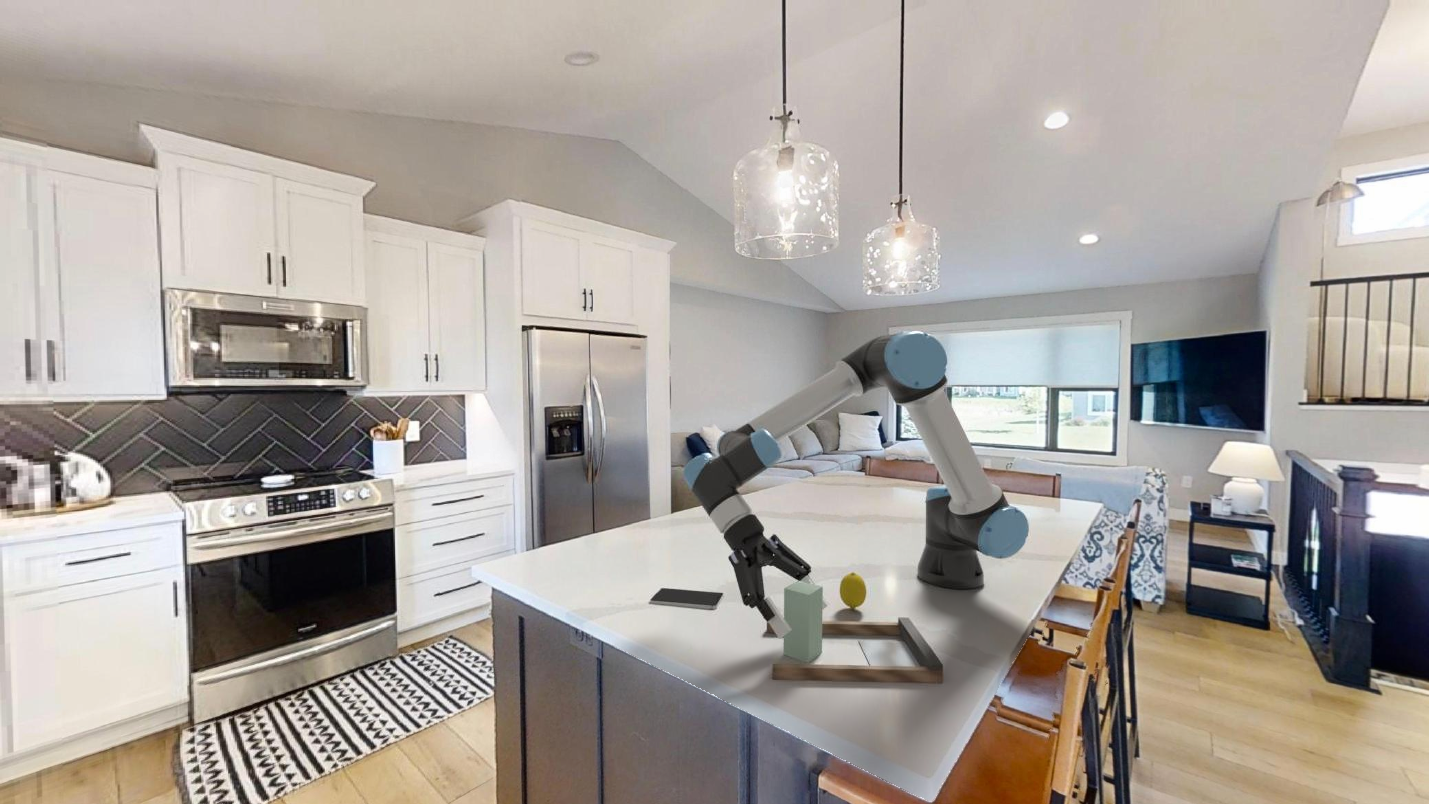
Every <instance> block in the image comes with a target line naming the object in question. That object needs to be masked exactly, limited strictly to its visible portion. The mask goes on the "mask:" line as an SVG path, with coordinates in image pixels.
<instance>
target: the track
mask: <svg viewBox="0 0 1429 804" xmlns="http://www.w3.org/2000/svg"><path fill="white" fill-rule="evenodd" d="M766 633H767V634H776V633H775V632H774V630H773V629H772V627H771V626H770V624H769V623H768V621H766ZM822 635H857V636H858V635H859V636H860V635H863V636H865V635H866V636H899V637H900V638H901V639H902V640H865V639H864V640H862V639H861V640H858V643H859V645H860V647H861V650H862V651H863V653H864V656H865V658H866V660H867V662H868V665H866V664H865V665H864V664H863V665H861V664H860V665H858V664H857V665H854V664H850V665H849V664H819V663H817V664H815V663H814V664H813V663H812V664H810V663H806V664H805V663H771V664H772V665H771V666H772V668H771V669H772V672H771V673H772V674H771V675H772V680H792V681H793V680H794V681H795V680H797V681H801V680H802V681H837V682H838V681H841V682H843V681H844V682H849V681H850V682H889V683H892V682H893V683H928V684H929V683H933V684H934V683H937V684H942V683H944V676H943V674H944V664H943V663H942V661H941V660H940V659H939V657H938V656H937V654H936V653H935V652H934V650H933V649H932V648H931V647H930V646H931V645H929V643H928V642H927V641H926V640H925V638H924V637H923V635H922V634H921V632H920V631H919V630H918V628H917V627H916V626H915V624H914V623H913V622H912V620H911V618H910V617H903V616H902V617H897V622H894V621H893V622H890V621H884V622H883V621H844V620H843V621H842V620H841V621H834V620H830V621H829V620H826V621H825V620H822Z"/></svg>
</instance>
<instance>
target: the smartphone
mask: <svg viewBox="0 0 1429 804" xmlns="http://www.w3.org/2000/svg"><path fill="white" fill-rule="evenodd" d="M723 599H724V592H719V591H718V592H717V591H708V590H707V591H706V590H695V589H692V590H691V589H680V588H667V587H666V588H665V587H661V588H659V590H658V591H657V592H656V593H655V594H654V595H653V596H652V597H651V599H649V600H650V601H649V603H651V604H654V605H656V604H657V605H665V606H677V607H687V608H695V609H705V610H706V609H708V610H717V609H718V607H719V605H720V604H721V602H722V601H723Z"/></svg>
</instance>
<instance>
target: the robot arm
mask: <svg viewBox="0 0 1429 804" xmlns="http://www.w3.org/2000/svg"><path fill="white" fill-rule="evenodd" d="M944 348H945V347H944V346H943V344H942V343H941V342H940V341H939V340H938V339H937V338H935V336H932V335H931V334H928V333H926V332H922V331H912V330H911V331H910V330H909V331H902V332H898V333H894V334H888V335H880V336H877V337H874V338H872V339H871V340H869V341H866V342H865V343H864V344H862V345H861V346H859V347H858V348H856V349H854V350H853V351H851V352H850V353H848V354H847V355H846V356H844V357H843V358H841V359H840V360H838V361H837V362H836V363H835V368H834V369H832V370H830V371H828V372H827V373H825V374H824V375H822V376H820V377H819V378H817V379H815V380H814V381H812V382H810V384H808V385H806V386H805V387H803V388H802V389H800V390H798V391H797V392H794V393H793V394H791V395H790V396H788V397H787V398H785V399H784V400H782V401H780V402H779V403H777V404H775V405H774V406H772V407H771V408H769V409H767V410H766V411H764V412H763V413H761V414H759V415H758V416H757V417H755V418H753V419H752V420H750V421H748V422H747V423H746V424H743V425H742V426H740V427H738V428H737V429H736V430H731V431H727V432H725V433H723V434H722V435H721V436H720V437H719V439H718V440H717V443H716V451H717V455H718V456H717V457H715V456H714V455H713V454H712V453H710V452H704V453H701V454H700V455H696V456H695V457H694V458H693V457H692V459H690V460H689V462H688V463H687V464H686V465H685V466H684V468H683V472H682V477H683V479H684V480H685V482H686V484H687V485H688V487H689V488H690V491H691V492H692V493H693V495H694V497H695V498H696V499H697V501H698V502H699V505H701V507H702V508H703V509H704V511H705V512H706V514H707V516H708V517H709V518H710V519H711V521H712V523H713V524H714V526H715V527H716V529H718V531H719V533H720V534H723V539H724V541H725V542H726V543H727V545H728V547H729V548H730V549H731V551H733V552H732V553H731V554H729V556H728V557H727V558H728V560H729V562H730V564H731V566H732V568H733V570H734V571H733V572H734V574H735V575H734V576H735V579H736V582H737V587H738V588H739V593H740V595H741V596H740V597H741V601H742V603H743V605H744V606H745V607H750V608H751V609H754V608H757V610H758V611H759V613H760V614H761V615H762V618H763V619H764V620H765V621H766V622H767V621H768V623H769V624H770V626H771V627H772V629H773V630H774V632H775V633H774V634H776V636H777V638H778V639H779V640H781V639H783V638H784V636H785V635H786V634H787V633H789V632H790V631H791V630H792V629H791V628H790V626H789V625H788V623H787V622H786V621H785V619H784V615H782V613H781V611H780V610H779V609H778V607H777V606H776V605H775V603H774V601H772V599H771V596H767V597H766V595H765V587H764V577H763V576H764V575H763V568H764V567H767V566H769V567H775V568H776V569H778V570H780V571H781V572H782V573H785V574H786V575H788V576H790V577H791V578H793V579H794V580H797V581H802V582H806V583H810V584H814V585H816V584H815V583H814V581H813V579H812V578H811V577H810V573H811V572H812V567H811V565H810V563H808V562H807V561H806V560H804V559H803V558H802V557H801V556H799V555H798V554H797V553H796V552H794V550H792V549H791V548H789V547H788V546H787V545H786V544H785V543H784V542H783V541H782V540H781V539H780V538H779V537H778V536H777V534H775V533H773V534H772V535H771V536H770V537H769V538H767V537H766V536H764V532H765V527H764V525H763V524H762V522H761V521H760V519H759V518H758V517H757V516H756V514H753V510H752V508H751V507H750V506H749V504H748V503H747V502H746V499H744V497H743V496H742V495H741V493H740V492H739V491H738V489H739V488H741V487H743V486H744V485H745V484H747V483H748V482H750V481H752V480H753V479H754V478H756V477H757V476H759V475H760V474H761V473H763V472H765V471H766V470H767V469H771V467H772V466H774V465H775V463H777V462H778V461H779V460H780V459H781V458H782V454H783V453H782V450H781V448H780V446H779V442H781V441H783V440H785V439H787V437H790V436H791V435H793V434H794V433H796V432H797V431H799V430H800V429H802V428H803V427H805V426H806V425H808V424H811V423H812V422H814V421H815V420H816V419H818V418H820V417H821V416H823V415H824V414H826V413H827V412H829V411H831V410H832V409H834V408H835V407H837V406H838V405H840V404H842V403H844V402H845V401H846V400H848V399H850V398H851V397H861V396H862V395H864V394H866V393H868V392H870V391H872V390H875V389H878V388H879V389H880V388H883V387H885V388H887V390H888V392H889V394H890V395H891V397H892V399H893V401H894V402H895V404H896V405H898V406H901V407H903V408H905V409H906V410H907V412H908V415H909V416H910V419H911V421H912V422H913V425H914V426H915V429H916V431H917V432H918V434H919V436H920V439H921V441H922V442H923V444H924V446H925V448H926V450H927V453H928V454H929V456H930V458H931V460H932V462H933V464H934V466H935V468H936V470H937V472H938V473H939V476H940V478H941V480H942V481H943V483H944V485H933V486H931V487H928V489H927V490H926V497H925V502H924V503H925V544H924V548H923V550H922V553H921V556H920V558H919V561H918V564H917V576H918V578H919V579H920V580H922V581H923V582H926V583H928V584H930V585H934V586H938V587H942V588H946V589H947V588H948V589H956V590H971V589H976V588H980V587H981V586H983V585H984V581H985V580H984V577H985V575H984V571H983V568H982V564H981V561H980V558H979V554H978V552H979V553H981V554H982V555H984V556H986V557H991V558H994V559H998V560H999V559H1000V560H1002V559H1008V558H1010V557H1012V556H1015V555H1016V554H1017V553H1019V552H1020V550H1022V548H1023V547H1024V546H1025V544H1026V541H1027V538H1028V536H1029V531H1030V530H1029V529H1030V528H1029V527H1030V524H1029V520H1028V518H1027V516H1026V515H1025V514H1024V512H1023V511H1022V510H1020V509H1019V508H1017V507H1015V506H1013V505H1012V506H1011V505H1010V504H1009V502H1008V500H1007V498H1006V496H1005V494H1004V492H1003V490H1002V488H1001V487H1000V486H999V485H997V484H993V483H991V482H990V480H989V478H988V476H987V475H986V472H985V470H984V468H983V466H982V465H981V462H980V460H979V458H978V456H977V454H976V452H975V450H974V448H973V446H972V444H971V442H970V440H969V437H968V436H967V434H966V431H965V430H964V428H963V426H962V424H961V421H960V419H959V417H958V415H957V414H956V412H955V410H954V407H953V406H952V403H951V401H950V400H949V397H948V395H947V393H946V392H945V388H946V387H947V384H948V377H947V376H946V371H947V368H946V367H947V365H948V357H947V353H946V350H945V349H944ZM829 605H830V604H829V602H828V601H827V599H826V598H825V597H824V596H823V603H822V611H824V610H825V608H827V607H828V606H829Z"/></svg>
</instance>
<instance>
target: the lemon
mask: <svg viewBox="0 0 1429 804" xmlns="http://www.w3.org/2000/svg"><path fill="white" fill-rule="evenodd" d="M839 596H840V598H841V599H840V600H841V601H842V602H843V603H844V604H845V605H846V607H848V608H849V609H851V610H855V609H856V608H858V607H861V606H862V605H863V604H864V602H865V600H866V597H867V587H866V583H865V580H864V579H863V578H862V577H861V575H859V574H858V573H857V574H856V573H855V571H854V572H851V573H847V574H846V575H845V576H843V578H842V579H841V581H840V584H839Z"/></svg>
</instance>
